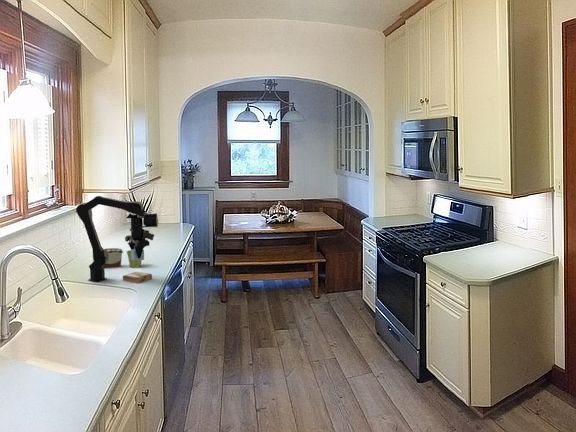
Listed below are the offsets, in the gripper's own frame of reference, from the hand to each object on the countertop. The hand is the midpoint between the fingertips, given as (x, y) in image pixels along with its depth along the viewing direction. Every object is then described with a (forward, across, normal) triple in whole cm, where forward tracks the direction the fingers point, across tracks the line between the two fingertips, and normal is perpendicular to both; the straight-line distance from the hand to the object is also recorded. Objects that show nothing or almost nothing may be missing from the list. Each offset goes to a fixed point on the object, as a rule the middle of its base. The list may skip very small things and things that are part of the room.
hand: (137, 257), depth 257 cm
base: (+11, 0, 0) cm, 11 cm away
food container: (+12, +35, +3) cm, 37 cm away
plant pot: (+12, +28, -9) cm, 32 cm away
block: (+1, 0, 0) cm, 1 cm away
